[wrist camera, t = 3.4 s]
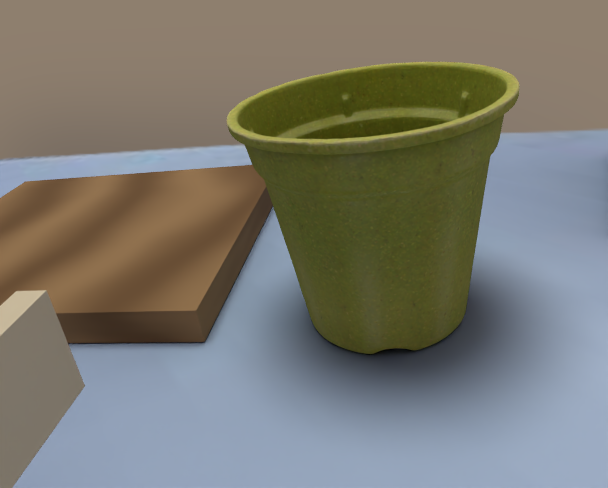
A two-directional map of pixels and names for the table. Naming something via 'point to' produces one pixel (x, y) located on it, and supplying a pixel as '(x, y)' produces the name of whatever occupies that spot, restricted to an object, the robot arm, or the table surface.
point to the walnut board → (132, 249)
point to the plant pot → (380, 191)
